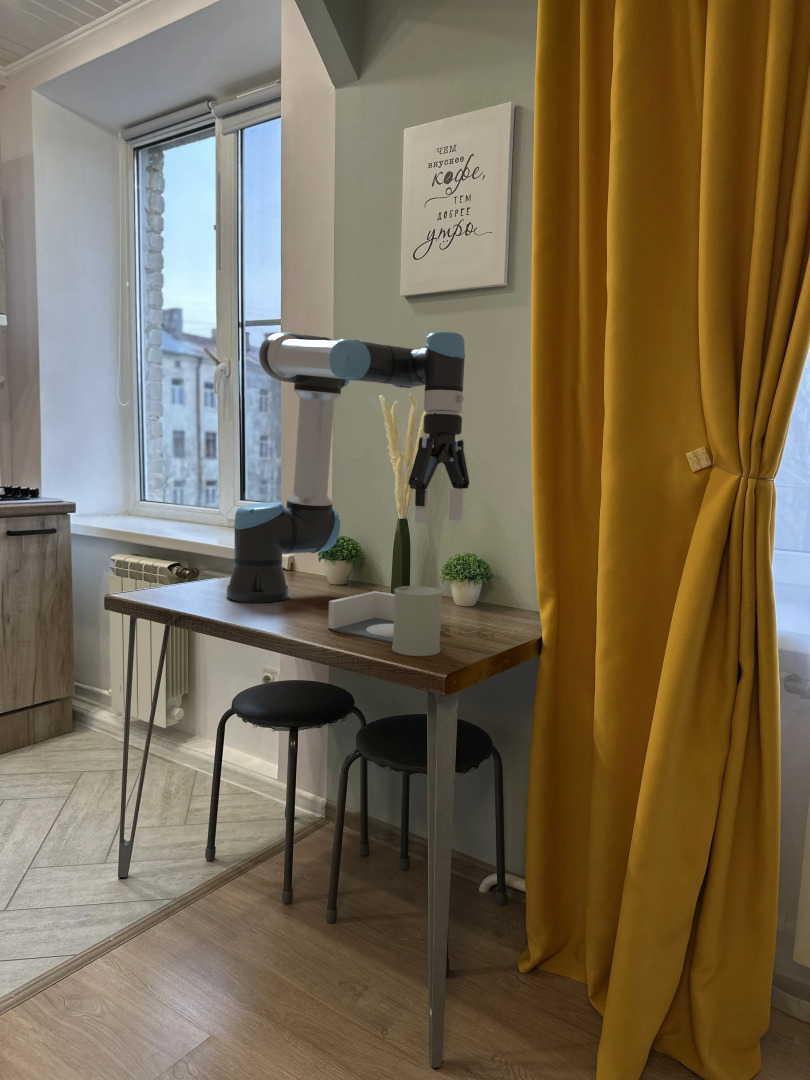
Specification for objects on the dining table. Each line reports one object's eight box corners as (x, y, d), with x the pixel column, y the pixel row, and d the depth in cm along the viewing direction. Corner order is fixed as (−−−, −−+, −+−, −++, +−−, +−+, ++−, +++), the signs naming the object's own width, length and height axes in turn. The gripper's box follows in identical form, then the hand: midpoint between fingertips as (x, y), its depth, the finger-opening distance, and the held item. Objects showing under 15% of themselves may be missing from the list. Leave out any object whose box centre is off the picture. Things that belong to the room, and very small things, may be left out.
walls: (328, 629, 154) (328, 601, 153) (373, 617, 167) (374, 591, 166) (395, 643, 144) (396, 613, 144) (438, 629, 158) (439, 601, 157)
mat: (328, 629, 154) (328, 626, 154) (373, 617, 167) (374, 614, 167) (395, 643, 144) (395, 640, 144) (438, 629, 158) (438, 626, 157)
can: (399, 641, 146) (402, 581, 145) (445, 646, 144) (448, 585, 142) (385, 653, 137) (387, 589, 136) (433, 658, 135) (436, 594, 133)
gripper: (427, 408, 133) (423, 526, 135) (488, 418, 154) (483, 519, 156) (392, 409, 137) (388, 523, 139) (456, 418, 158) (452, 517, 160)
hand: (439, 521), depth 148 cm, fingers open, 13 cm apart
